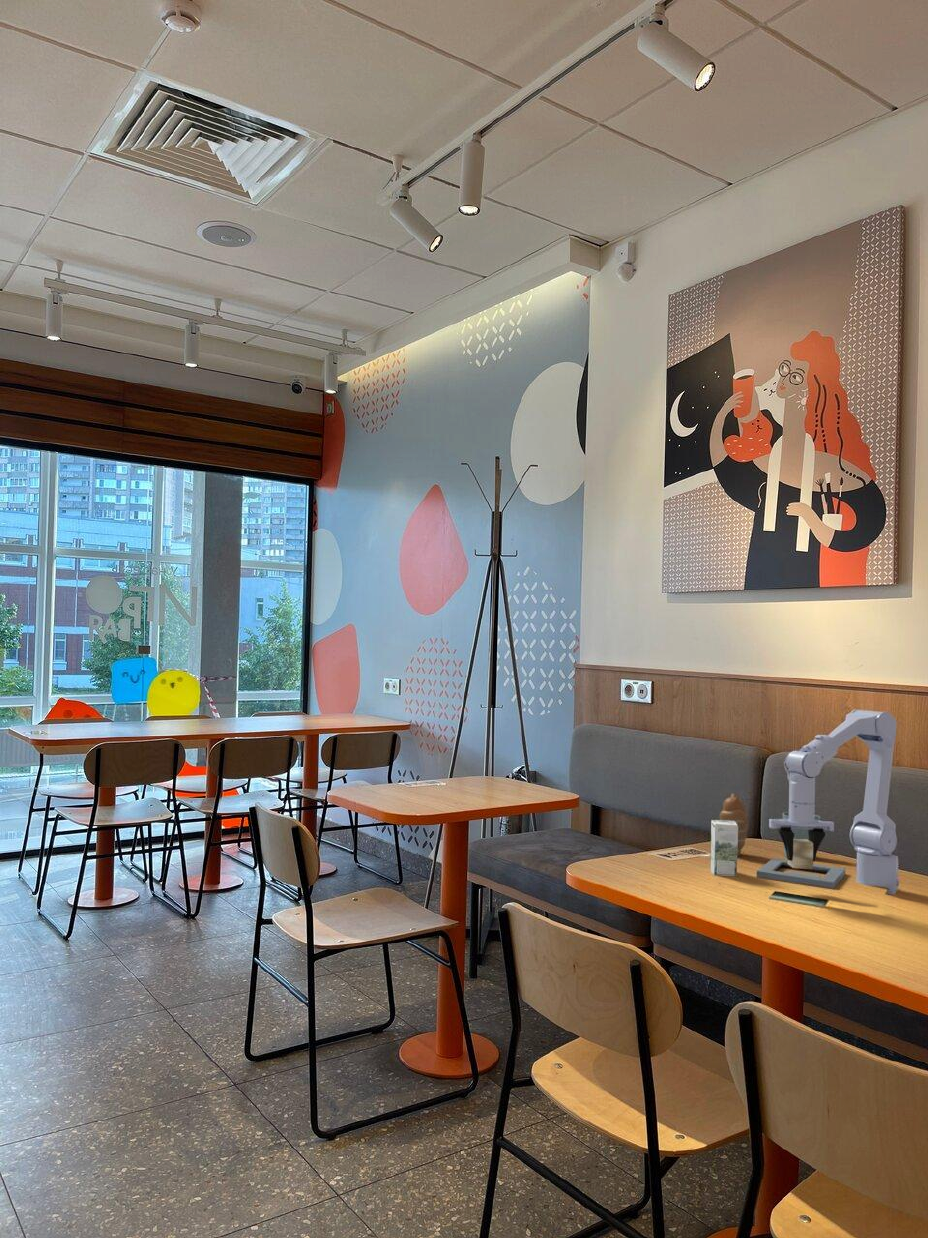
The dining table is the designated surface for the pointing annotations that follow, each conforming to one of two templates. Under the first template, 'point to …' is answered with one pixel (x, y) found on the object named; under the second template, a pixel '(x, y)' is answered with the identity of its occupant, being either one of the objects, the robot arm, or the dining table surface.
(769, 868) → the box
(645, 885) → the dining table surface
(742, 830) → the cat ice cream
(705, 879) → the dining table surface
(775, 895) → the zone pad
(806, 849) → the maple block
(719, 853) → the syrup box
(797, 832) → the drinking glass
